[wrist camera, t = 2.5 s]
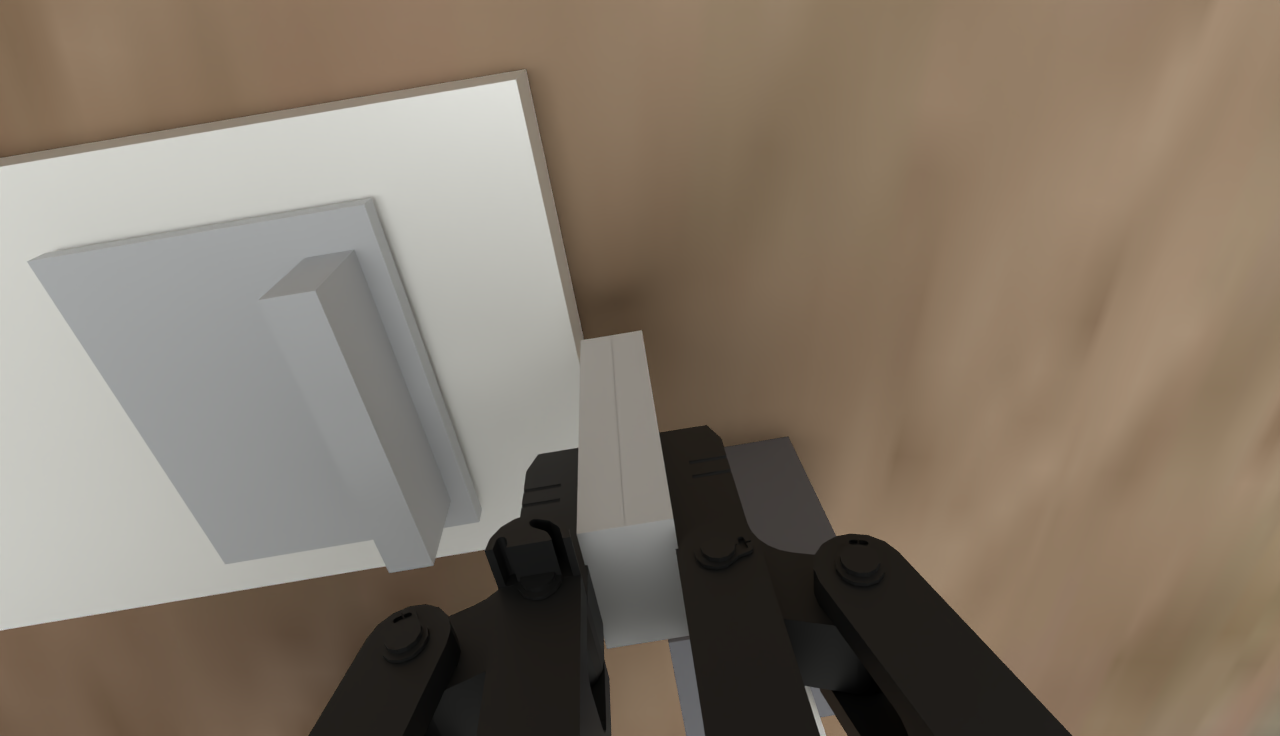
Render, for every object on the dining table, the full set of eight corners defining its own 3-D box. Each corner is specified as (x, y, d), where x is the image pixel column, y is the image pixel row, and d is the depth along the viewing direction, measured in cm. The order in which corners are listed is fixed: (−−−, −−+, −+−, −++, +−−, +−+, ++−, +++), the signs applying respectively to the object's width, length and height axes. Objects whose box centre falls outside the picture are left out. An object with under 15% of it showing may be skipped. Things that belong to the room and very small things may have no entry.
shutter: (234, 550, 20) (179, 635, 18) (45, 253, 16) (-72, 306, 13) (482, 508, 20) (465, 587, 18) (371, 197, 15) (324, 239, 13)
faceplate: (40, 567, 24) (-26, 634, 22) (-273, 204, 17) (-423, 238, 15) (612, 472, 24) (615, 527, 22) (526, 69, 17) (515, 79, 15)
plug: (659, 546, 26) (697, 810, 18) (643, 460, 24) (678, 714, 15) (791, 524, 26) (894, 778, 18) (788, 436, 24) (904, 677, 15)
